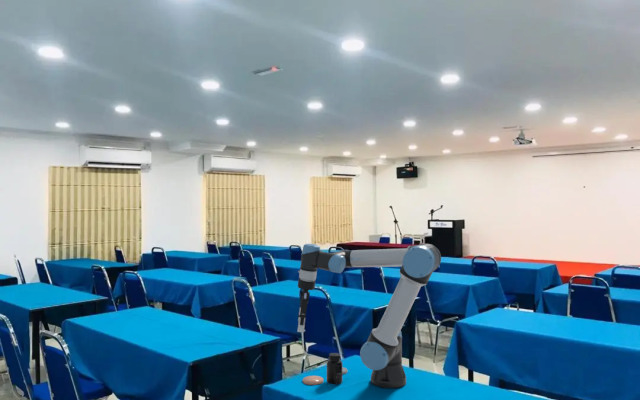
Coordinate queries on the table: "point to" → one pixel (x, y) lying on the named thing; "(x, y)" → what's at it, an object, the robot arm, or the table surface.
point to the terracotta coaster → (312, 380)
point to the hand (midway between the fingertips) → (300, 326)
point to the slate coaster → (344, 370)
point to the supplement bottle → (334, 369)
